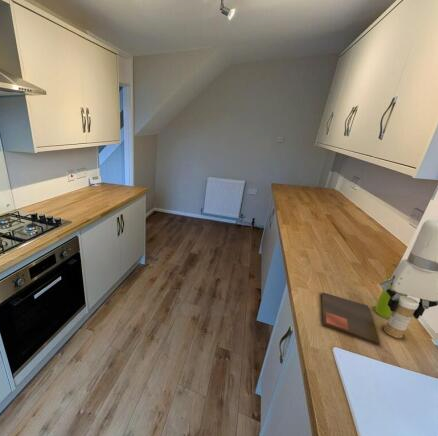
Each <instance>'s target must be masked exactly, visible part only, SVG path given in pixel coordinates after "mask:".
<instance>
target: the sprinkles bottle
mask: <svg viewBox="0 0 438 436" xmlns="http://www.w3.org/2000/svg"><path fill="white" fill-rule="evenodd" d="M418 306H419V302H418V301H417V300H416V299H414V298H413V297H411V296H400V297H399V298H398V305H397V307H396V309H395V311H394V312H393V311H392V312H391V315H390V317H389V319H388V318H387V322H386V324H385V326H384V328H383V330H384V332H385V333H386V334H388V335H389V336H390V337H391V336H392V337H393V338H396V339H402V338H403V337H404V334H405V331H406V330H407V328H408V327H409V325H410V324H411V323H410V322H411V321H412V319H413V317H414V316H413V314H414V312H415V310H416V309H417V308H418Z"/></svg>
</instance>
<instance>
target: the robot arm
mask: <svg viewBox="0 0 438 436" xmlns="http://www.w3.org/2000/svg"><path fill="white" fill-rule="evenodd" d="M389 279H390V280H385V281H382V282H380V283H379V286H380V287H381V289H382V290H383V289H384V290H385V291H386V292H387V293H388V294H389V296H390V300H389V302H388V306H389V307H390V310H391V311H393V312H394V311H395V309H396V307H397V305H398V298H399V297H400V296H401V295H402V294H405V295H408V297H412V298H417V299H419V302H418V303H419V306H418V308H417V309H416V310H415V312H414V314H413V316H412V317H414V319H417V320H418V319H419V318H420V316H421V317H422V316H423V314H424V313H425V311H426V310H429V308H432V307H437V306H438V219H427V220H425V221H424V222H423V223H422V224H421V227H420V229H419V232H418V234H417V236H416V239H415V241H414V243H413V245H412V247H411V250H410V252H409V254H408V256H407V259H406V258H404V259H402V260H401V261H400V262H399V264H398V265H397V266H396V268H395V270H394V271H393V273H392V274H391V276H390V278H389ZM391 285H392V290H393V291H392V290H391V289H390V288H389V286H391Z"/></svg>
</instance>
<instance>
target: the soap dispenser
mask: <svg viewBox="0 0 438 436" xmlns="http://www.w3.org/2000/svg"><path fill="white" fill-rule="evenodd" d="M387 280H390V278H387ZM387 280H386V281H387ZM389 288H390V289H391V290H392V285H391V286H389ZM392 291H393V290H392ZM401 296H407V297H409V295H405V294H402V295H401ZM389 300H390V296H389V294H388V293H387V292H386V291H385V290H384V289H383V288H382V291H381V294H380V296H379V299H378V300H377V303H376V306H375V308H374V311H375V313H377V315H379V316H381V317H382V318H385V319H387V320H388V319H389V317H390V315H391V312H392V311H391V310H390V307H389V306H388V302H389Z"/></svg>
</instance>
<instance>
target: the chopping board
mask: <svg viewBox="0 0 438 436" xmlns="http://www.w3.org/2000/svg"><path fill="white" fill-rule="evenodd" d="M321 302H322V321H323V323H322V324H323V327H326V328H328V329H332V330H335V331H336V332H340V333H343V334H346V335H349V336H351V337H353V338H357V339H359V340H363V341H365V342H368V343H372V344H374V345H377V346H379V345H380V339H379V336H378V332H377V330H376V326H375V323H374V320H373V316H372V314H371V311H370V307H369V305H368V304H364V303H361V302H357V301H354V300H351V299H348V298H344V297H340V296H338V295H334V294H330V293H327V292H325V291H324V292H322V293H321Z"/></svg>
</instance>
